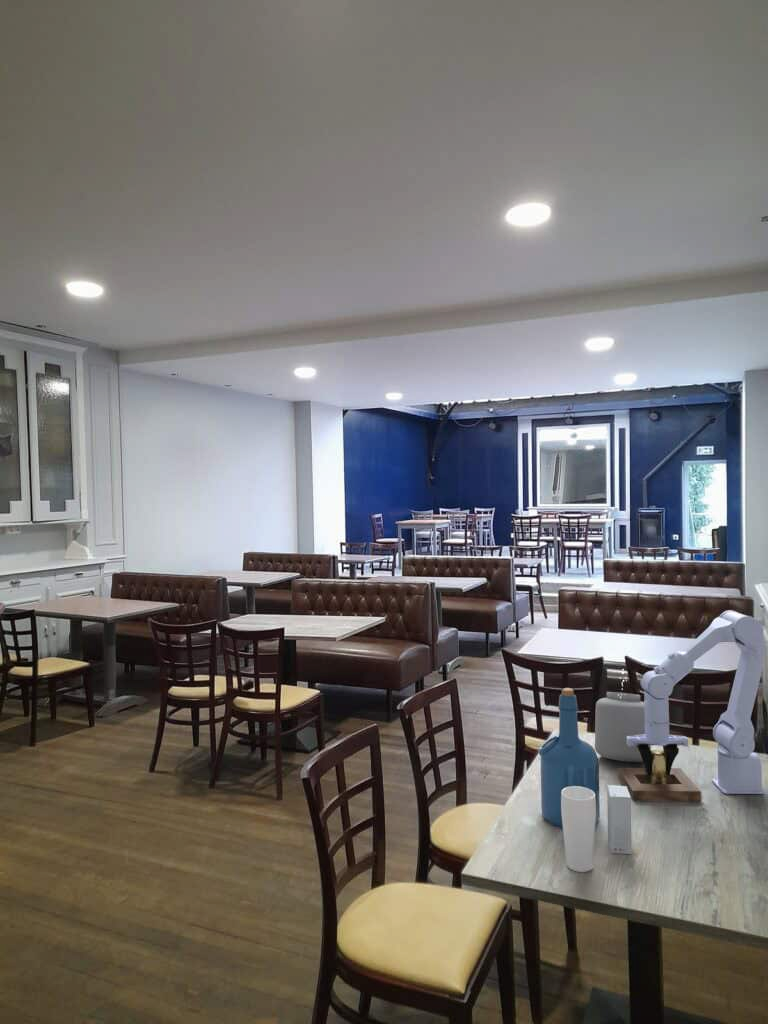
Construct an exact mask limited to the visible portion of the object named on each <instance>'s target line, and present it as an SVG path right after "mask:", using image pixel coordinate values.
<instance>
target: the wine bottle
mask: <svg viewBox="0 0 768 1024" xmlns="http://www.w3.org/2000/svg"><path fill="white" fill-rule="evenodd" d="M573 689H574V688H570V687H565V688H562V689H561V694H559V699H558V710H559V711H558V712H559V717H558V719H559V720H558V734H556V735H555V736H553V737H551V738H549V739H548V740H547V741H546V742H545V743H544V744H543V745H542V746H541V747H540V748H539V750H537V751H538V752H537V754H539V756H540V758H539V761H540V803H541V805H540V806H541V808H540V809H541V815H542V817H543V819H545V820H546V821H547V822H548V823H549V824H551V825H553V826H557V827H560V828H562V829H563V824H562V815H561V791H562V790H563V789H564V788H566V787H570V786H580V787H585V788H588V789H590V790H592V791H593V792H594V793H595V798H596V823H595V825H596V824H597V823H598V822H599V820H600V818H601V813H600V812H601V809H600V808H601V807H600V806H601V805H600V803H601V802H600V761H599V757H598V755H597V754H598V753H597V752H596V750H595V747H594V746H592V745H591V744H589V743H588V742H586V741H584V740H583V739H581V738H580V737H579V725H578V724H579V723H578V722H579V721H578V711H579V708H578V703H577V702H578V701H577V695H576V694H574V693H575V692H574V690H573Z"/></svg>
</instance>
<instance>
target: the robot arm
mask: <svg viewBox="0 0 768 1024" xmlns="http://www.w3.org/2000/svg"><path fill="white" fill-rule="evenodd" d="M764 629H765V628H764V626H762V625H761V623H760V622H759V621H758V620H757V619H756V618H755V617H753V616H751V615H746V614H742V613H740V612H738V611H736V610H731V609H728V610H725V611H723V612H722V613H721V614H720V615H719V616H717V617H716V618H714V619H713V620H712V622H711V623H710V625H709V626H708V627H707V628H706V629H705V630H704V631H703V632H702V633H701V634H700V635H699V636H698V637H696V639H694V641H692V643H690V644H689V645H688V647H686V648H685V649H684V650H682V651H679V650H678V651H677V650H675V651H674V652H669V653H668V654H667V657H668V658H666V659H665V660H664V661H663V662H661V663H660V664H659V665H657V666H656V665H655V666H654V667H653V670H649V671H647V672H645V673H644V674H643V675H642V678H641V680H640V681H639V682H640V686H641V688H642V690H643V693H644V700H643V702H644V714H645V734H642V735H635V736H627V745H628V746H633V745H636V746H637V748H638V750H639V752H640V754H641V757H642V759H643V765H644V768H645V772H646V773H647V775H651V764H650V762H651V752H652V751H651V750H652V749H651V750H650V747H649V746H648V745H651V746H658V747H661V746H662V748H663V749H662V751H664V752H665V753H666V767H667V775H670V771H671V768H673V764H674V762H675V759H676V758H677V756H678V754H679V752H680V750H679V749H680V748H679V747H678V746H683V747H689V738H688V737H687V736H685V735H674V734H670V712H669V711H670V710H669V709H670V704H669V696H671V695H672V693H673V690H674V686H675V685H676V684H677V683H679V681H681V680H682V679H683V678H684V677H686V676H687V675H688V674H690V672H692V671H693V670H694V668H695V661H697V660H698V659H700V658H701V657H702V656H704V655H705V654H706V653H707V652H709V651H710V650H712V649H713V648H714V647H716V646H717V645H719V644H721V643H735V645H736V646H737V648H738V649H739V650H740V654H739V659H738V663H737V667H736V671H735V676H734V679H733V685H732V687H731V692H730V697H729V701H728V704H727V710H726V711H724V712H722V714H720V717H719V719H718V722H717V723H716V724H715V725H714V727H713V729H712V736H713V739H714V740H715V742H716V743H717V778H712V779H711V781H712V783H713V784H714V785H715V786H716V787H717V788H718V789H719V791H721V792H722V793H723V794H726V795H729V794H730V795H732V794H733V795H734V794H736V795H738V794H739V795H763V794H764V791H763V768H762V767H763V766H762V761H761V759H760V757H759V754H757V753H756V752H754V750H755V747H756V745H755V744H756V743H755V739H754V735H755V728H754V725H753V722H752V720H751V718H752V713H753V709H754V705H755V701H756V698H757V697H756V696H757V692H758V690H759V689H758V688H759V684H760V680H761V677H762V672H763V668H764V664H765V659H766V656H767V651H768V649H767V648H768V647H767V645H766V641H765V638H764Z"/></svg>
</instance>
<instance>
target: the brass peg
mask: <svg viewBox="0 0 768 1024" xmlns="http://www.w3.org/2000/svg"><path fill="white" fill-rule="evenodd" d="M651 751H652V752H651V762H650V764H651V775H649V783H650V784H667V767H666V753H665V752H664V751H663V750H661V749H651Z"/></svg>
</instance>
